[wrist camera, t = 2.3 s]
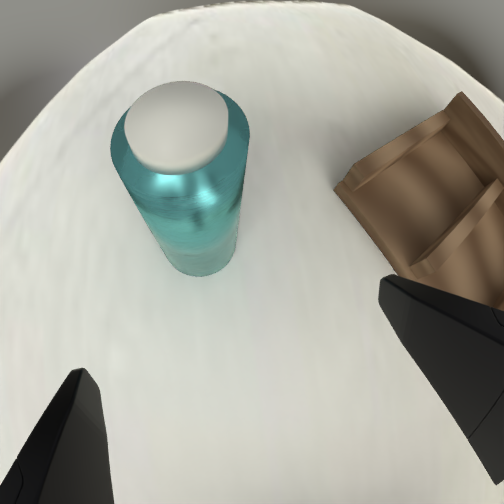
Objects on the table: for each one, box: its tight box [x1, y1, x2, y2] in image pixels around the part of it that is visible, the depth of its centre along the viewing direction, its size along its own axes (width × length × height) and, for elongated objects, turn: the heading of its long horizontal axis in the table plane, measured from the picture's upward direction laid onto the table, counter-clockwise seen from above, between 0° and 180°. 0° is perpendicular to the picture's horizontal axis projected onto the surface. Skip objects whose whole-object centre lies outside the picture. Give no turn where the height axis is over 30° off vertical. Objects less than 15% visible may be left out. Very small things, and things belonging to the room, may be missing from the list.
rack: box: [334, 91, 504, 311], centre depth 22 cm, size 16×18×6 cm
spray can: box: [110, 81, 250, 277], centre depth 17 cm, size 5×5×14 cm
